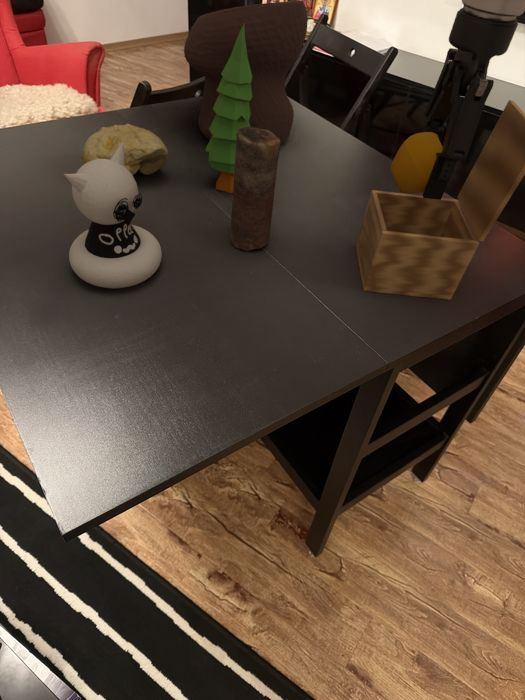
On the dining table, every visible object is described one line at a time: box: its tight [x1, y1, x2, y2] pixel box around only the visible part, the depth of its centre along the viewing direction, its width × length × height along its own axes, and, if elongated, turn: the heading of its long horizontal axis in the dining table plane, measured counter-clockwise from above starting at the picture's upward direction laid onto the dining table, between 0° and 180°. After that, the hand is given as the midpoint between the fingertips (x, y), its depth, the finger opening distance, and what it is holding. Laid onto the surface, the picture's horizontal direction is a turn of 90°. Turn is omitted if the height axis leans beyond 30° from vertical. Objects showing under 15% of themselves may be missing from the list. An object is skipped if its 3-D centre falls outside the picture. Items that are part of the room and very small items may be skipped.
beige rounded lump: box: [82, 122, 169, 176], centre depth 99 cm, size 17×11×15 cm
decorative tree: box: [205, 24, 252, 194], centre depth 92 cm, size 10×9×30 cm
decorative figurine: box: [63, 141, 163, 289], centre depth 74 cm, size 15×15×20 cm
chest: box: [355, 189, 480, 301], centre depth 84 cm, size 16×14×12 cm
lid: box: [457, 99, 525, 242], centre depth 74 cm, size 16×14×1 cm
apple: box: [390, 131, 443, 194], centre depth 74 cm, size 9×8×9 cm
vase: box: [183, 0, 309, 146], centre depth 113 cm, size 27×27×30 cm
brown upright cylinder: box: [229, 127, 281, 251], centre depth 83 cm, size 8×7×20 cm
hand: (425, 182), depth 76 cm, fingers closed on apple, 8 cm apart
